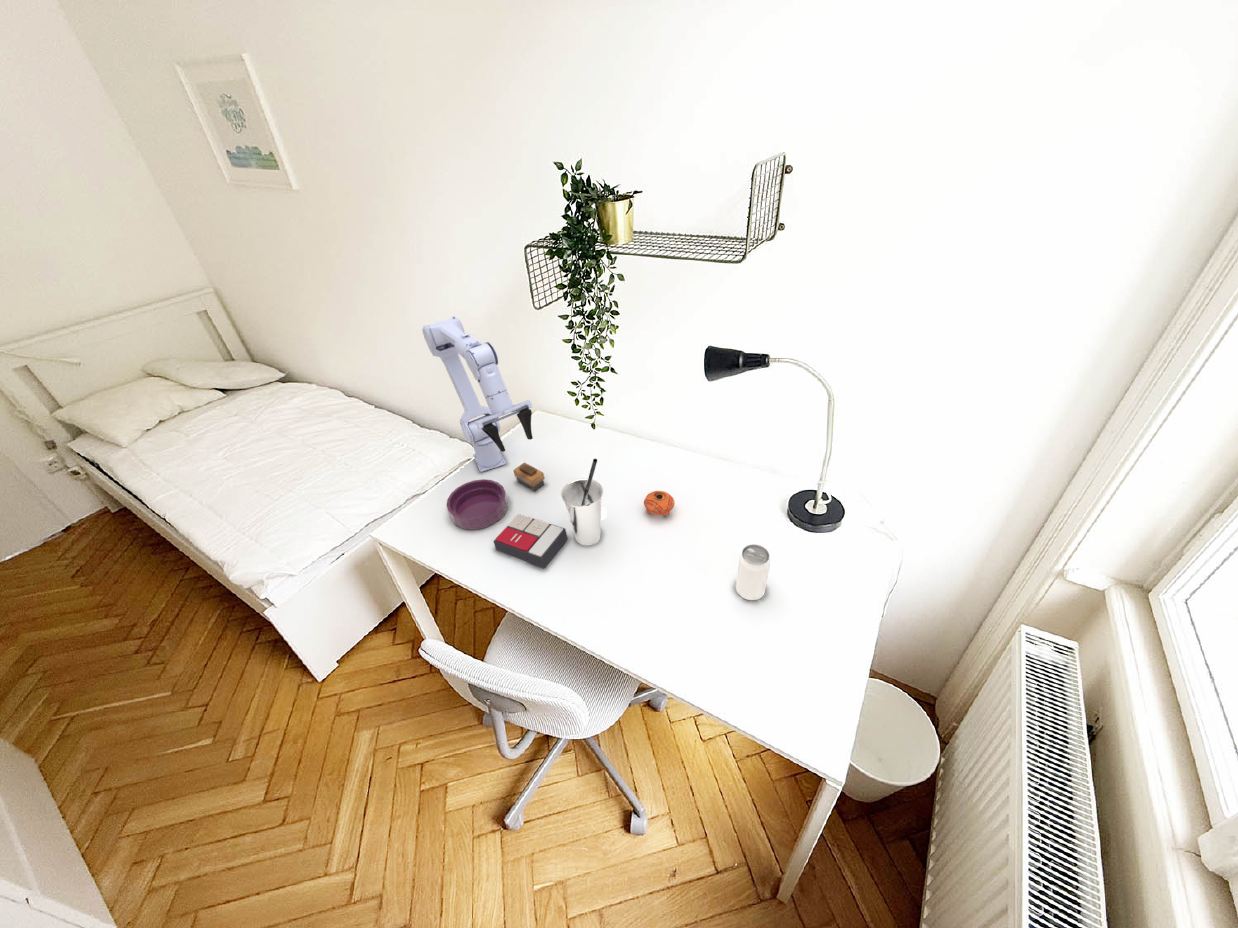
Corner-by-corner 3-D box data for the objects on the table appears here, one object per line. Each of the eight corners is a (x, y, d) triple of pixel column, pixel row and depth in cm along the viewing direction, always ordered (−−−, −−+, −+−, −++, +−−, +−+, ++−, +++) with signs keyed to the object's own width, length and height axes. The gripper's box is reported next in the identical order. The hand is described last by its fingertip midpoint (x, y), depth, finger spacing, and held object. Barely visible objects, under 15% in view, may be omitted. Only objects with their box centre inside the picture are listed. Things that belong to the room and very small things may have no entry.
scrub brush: (515, 482, 153) (512, 467, 150) (527, 474, 156) (523, 459, 152) (534, 492, 149) (531, 477, 146) (545, 484, 152) (542, 469, 148)
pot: (645, 498, 144) (650, 480, 140) (672, 507, 144) (678, 489, 139) (638, 518, 138) (643, 499, 134) (666, 527, 137) (673, 509, 133)
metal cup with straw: (607, 556, 129) (596, 461, 111) (563, 551, 131) (545, 457, 113) (615, 524, 138) (607, 431, 119) (574, 520, 140) (559, 428, 121)
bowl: (446, 502, 148) (441, 490, 145) (499, 484, 153) (496, 472, 150) (457, 538, 137) (452, 526, 134) (515, 518, 142) (511, 506, 139)
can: (744, 573, 123) (749, 538, 115) (769, 587, 119) (776, 551, 112) (730, 592, 119) (734, 556, 111) (756, 606, 116) (762, 570, 108)
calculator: (518, 511, 138) (565, 526, 132) (521, 523, 141) (568, 538, 134) (491, 539, 131) (540, 556, 125) (496, 551, 134) (544, 569, 127)
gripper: (472, 404, 122) (495, 457, 125) (527, 382, 128) (547, 434, 132) (465, 404, 128) (487, 455, 132) (518, 384, 134) (537, 433, 138)
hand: (516, 445), depth 132 cm, fingers open, 7 cm apart
